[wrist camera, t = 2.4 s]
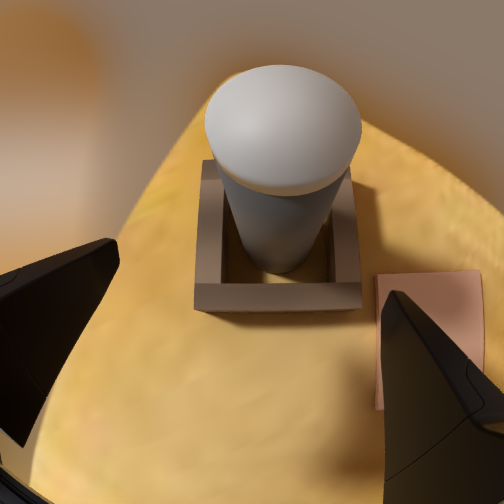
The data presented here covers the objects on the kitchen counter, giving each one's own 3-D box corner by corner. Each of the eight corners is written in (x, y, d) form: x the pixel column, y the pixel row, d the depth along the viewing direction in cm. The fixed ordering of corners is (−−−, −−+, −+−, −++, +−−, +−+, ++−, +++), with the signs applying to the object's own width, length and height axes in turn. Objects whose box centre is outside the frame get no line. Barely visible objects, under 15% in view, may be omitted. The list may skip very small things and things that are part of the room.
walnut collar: (351, 310, 19) (362, 308, 16) (203, 312, 19) (193, 309, 17) (341, 176, 21) (348, 159, 19) (209, 177, 22) (202, 160, 19)
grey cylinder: (312, 273, 19) (374, 184, 7) (242, 273, 20) (198, 185, 8) (309, 208, 21) (347, 68, 8) (243, 208, 21) (211, 68, 9)
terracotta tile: (477, 387, 16) (481, 388, 16) (374, 408, 17) (377, 410, 16) (475, 271, 19) (479, 270, 18) (374, 275, 19) (377, 274, 19)
